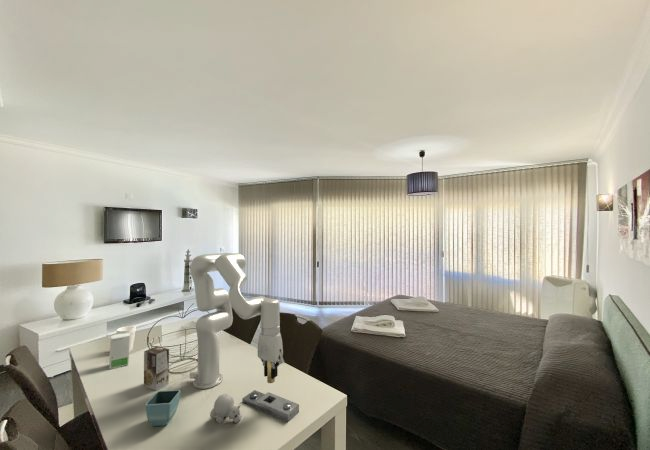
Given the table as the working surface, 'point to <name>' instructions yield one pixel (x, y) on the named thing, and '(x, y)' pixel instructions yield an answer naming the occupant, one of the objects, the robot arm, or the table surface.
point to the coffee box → (156, 367)
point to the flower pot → (162, 407)
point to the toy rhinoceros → (225, 409)
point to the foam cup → (131, 331)
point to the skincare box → (119, 350)
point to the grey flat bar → (272, 405)
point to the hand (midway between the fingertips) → (270, 375)
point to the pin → (269, 372)
